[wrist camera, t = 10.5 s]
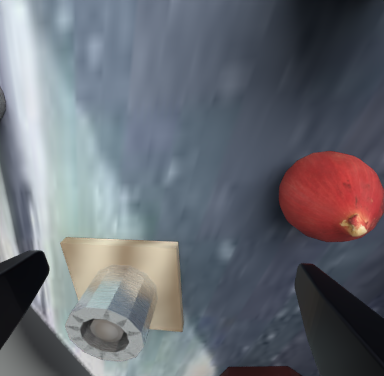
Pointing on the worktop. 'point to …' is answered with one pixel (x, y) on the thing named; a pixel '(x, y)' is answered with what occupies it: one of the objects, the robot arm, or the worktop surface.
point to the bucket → (260, 371)
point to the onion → (331, 197)
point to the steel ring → (114, 312)
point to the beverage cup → (2, 103)
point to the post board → (135, 257)
